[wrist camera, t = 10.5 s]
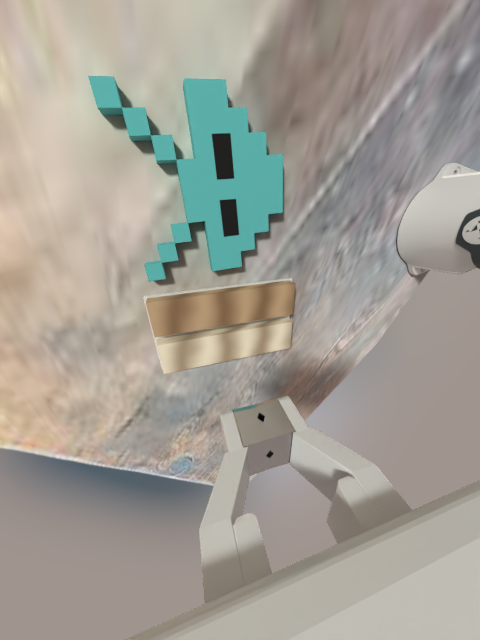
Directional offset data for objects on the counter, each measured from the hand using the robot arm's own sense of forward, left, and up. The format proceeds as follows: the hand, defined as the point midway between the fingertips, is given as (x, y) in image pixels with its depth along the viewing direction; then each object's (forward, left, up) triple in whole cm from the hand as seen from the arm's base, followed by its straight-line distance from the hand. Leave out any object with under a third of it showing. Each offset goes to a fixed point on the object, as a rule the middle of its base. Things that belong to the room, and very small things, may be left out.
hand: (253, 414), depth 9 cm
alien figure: (-3, -10, -27) cm, 29 cm away
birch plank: (-4, +13, -26) cm, 29 cm away
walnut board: (-4, +6, -27) cm, 28 cm away
